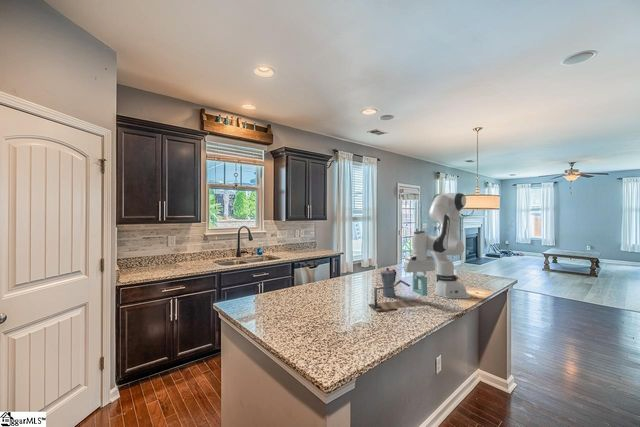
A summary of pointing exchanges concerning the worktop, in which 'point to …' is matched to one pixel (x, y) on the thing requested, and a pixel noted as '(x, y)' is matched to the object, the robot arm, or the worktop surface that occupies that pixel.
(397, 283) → the wire
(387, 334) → the worktop surface
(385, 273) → the moka pot
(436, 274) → the robot arm
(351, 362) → the worktop surface
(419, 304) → the board
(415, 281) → the teal square frame
